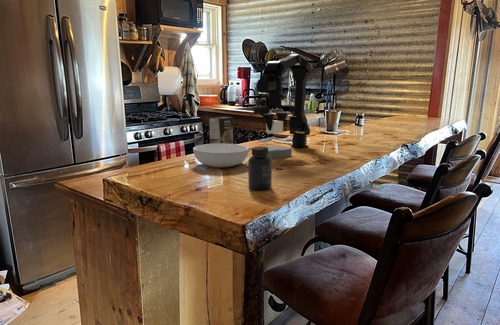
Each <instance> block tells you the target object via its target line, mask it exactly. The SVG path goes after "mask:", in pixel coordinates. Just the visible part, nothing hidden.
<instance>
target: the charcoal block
mask: <svg viewBox="0 0 500 325" xmlns="http://www.w3.org/2000/svg"><path fill="white" fill-rule="evenodd" d="M266 147H267V148H268V153H269V154H268V157H270V158H271V160H275V158H276V159H280V158H281V157H282V158H286V156H288V157H291V156H292V154H293V153H292V148H290V147H284V146H280V145H279V146H278V145H268V146H266Z"/></svg>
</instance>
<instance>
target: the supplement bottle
mask: <svg viewBox="0 0 500 325" xmlns="http://www.w3.org/2000/svg"><path fill="white" fill-rule="evenodd" d="M268 154H269V153H268V148H267V146H255V147H252V148H251V155H252V156H250V157H249V159H248V160H247V162H248V170H247V172H248V173H247V174H248V180H247V182H248V188H249V190H251V191H254V192H257V191H258V192H264V191H269V190H271V188H272V180H273V178H272V175H273V174H272V171H273V169H272V167H273V164H272V163H273V162H272V161H273V159H271V158H270V157H268Z"/></svg>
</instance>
